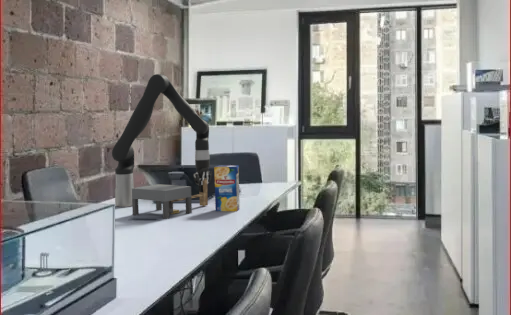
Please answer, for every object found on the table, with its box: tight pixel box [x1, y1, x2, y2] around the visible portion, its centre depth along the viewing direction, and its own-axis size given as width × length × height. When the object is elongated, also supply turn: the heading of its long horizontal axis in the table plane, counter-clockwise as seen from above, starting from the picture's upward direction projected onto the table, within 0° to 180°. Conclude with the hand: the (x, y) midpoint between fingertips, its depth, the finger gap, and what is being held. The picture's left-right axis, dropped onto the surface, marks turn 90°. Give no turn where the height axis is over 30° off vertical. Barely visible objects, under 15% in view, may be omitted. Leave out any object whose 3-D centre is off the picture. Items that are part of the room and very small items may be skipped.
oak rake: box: [169, 178, 209, 213], centre depth 291 cm, size 28×5×14 cm, turn 145°
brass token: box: [169, 208, 180, 215], centre depth 282 cm, size 4×4×2 cm
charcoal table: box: [131, 183, 193, 220], centre depth 279 cm, size 22×18×13 cm
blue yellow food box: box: [213, 164, 241, 212], centre depth 287 cm, size 7×11×22 cm, turn 81°
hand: (203, 191), depth 301 cm, fingers closed on oak rake, 3 cm apart
